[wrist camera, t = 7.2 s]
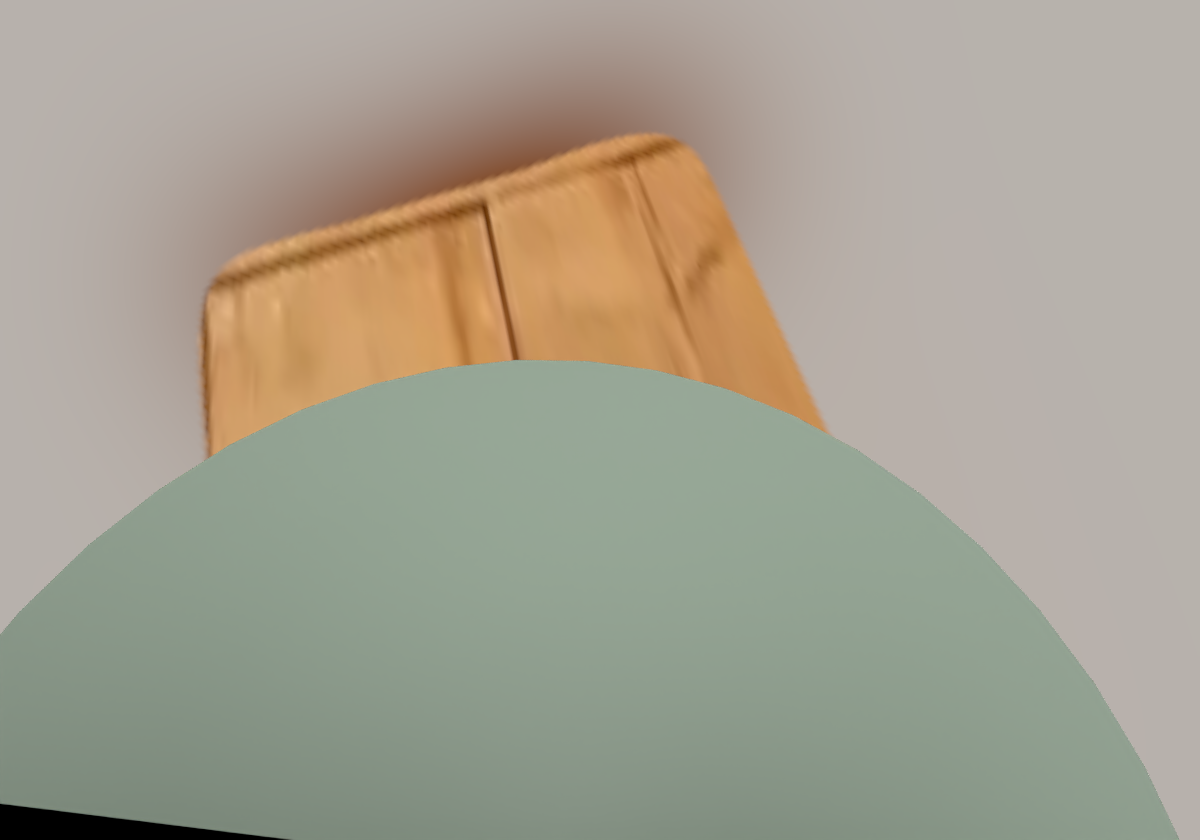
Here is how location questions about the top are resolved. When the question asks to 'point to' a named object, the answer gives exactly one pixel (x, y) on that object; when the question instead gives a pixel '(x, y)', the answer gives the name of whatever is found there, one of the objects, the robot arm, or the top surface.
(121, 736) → the peg
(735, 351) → the top surface
